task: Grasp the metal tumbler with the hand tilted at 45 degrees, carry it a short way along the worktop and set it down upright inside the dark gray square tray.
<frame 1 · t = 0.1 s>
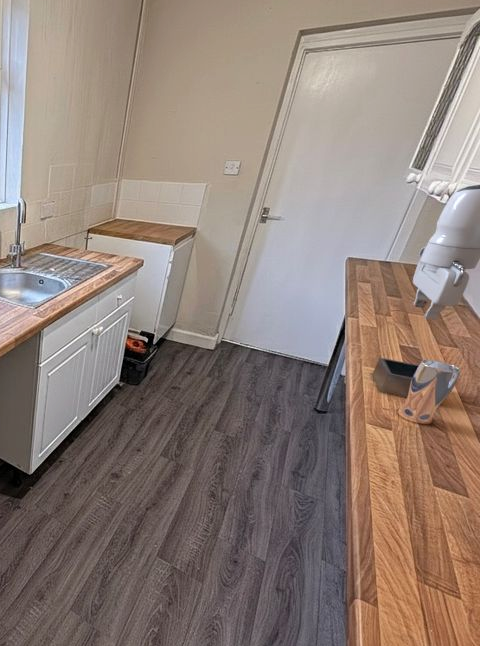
hand: (423, 312, 101), 26 cm above the worktop, tool pointing down, fingers open, 8 cm apart
dark gray square tray: (403, 388, 117), on the worktop
metal tumbler: (413, 417, 105), on the worktop
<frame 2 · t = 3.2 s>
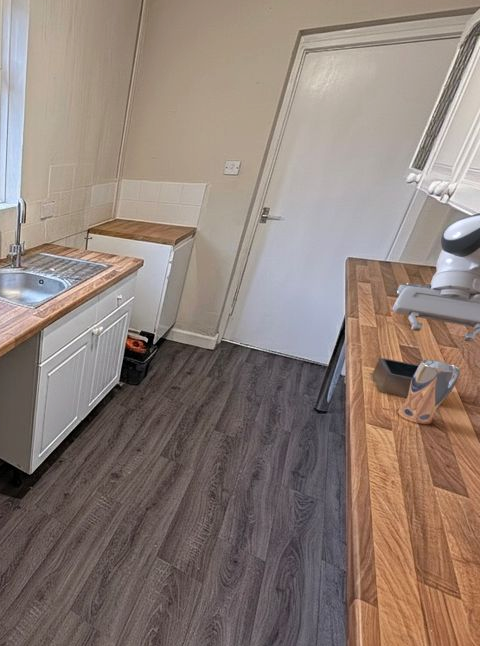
hand: (441, 334, 106), 19 cm above the worktop, tool tilted 45°, fingers open, 8 cm apart
nothing on the worktop moved.
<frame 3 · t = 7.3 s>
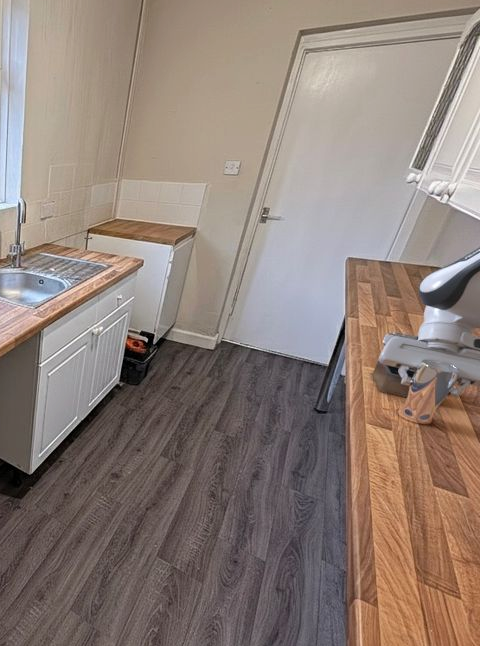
hand: (429, 390, 101), 8 cm above the worktop, tool tilted 45°, fingers closed on metal tumbler, 7 cm apart
metal tumbler: (413, 417, 105), on the worktop, touching gripper
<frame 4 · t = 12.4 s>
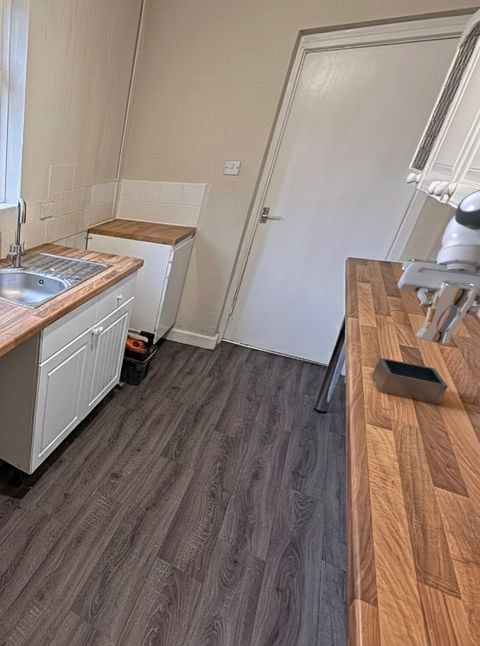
hand: (448, 309, 104), 26 cm above the worktop, tool tilted 45°, fingers closed on metal tumbler, 7 cm apart
metal tumbler: (431, 339, 108), point 17 cm above the worktop, touching gripper
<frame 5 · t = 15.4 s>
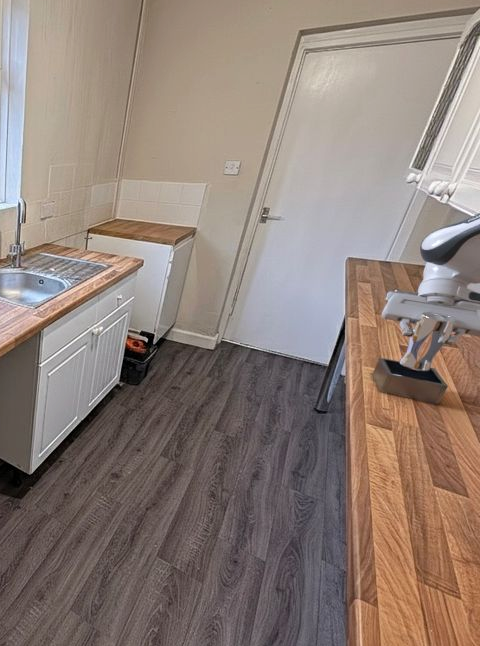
hand: (427, 339, 111), 16 cm above the worktop, tool tilted 45°, fingers closed on metal tumbler, 7 cm apart
metal tumbler: (413, 366, 115), point 7 cm above the worktop, touching gripper
when the fingers open (9 cm above the worktop, at t = 17.9 s): metal tumbler stays where it is, resting on dark gray square tray.
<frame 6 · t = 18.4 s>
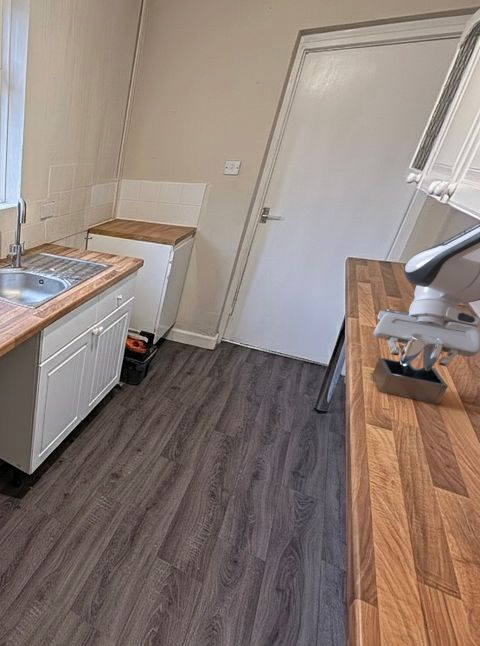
hand: (418, 359, 113), 10 cm above the worktop, tool tilted 45°, fingers open, 8 cm apart
metal tumbler: (403, 386, 117), point 1 cm above the worktop, touching dark gray square tray
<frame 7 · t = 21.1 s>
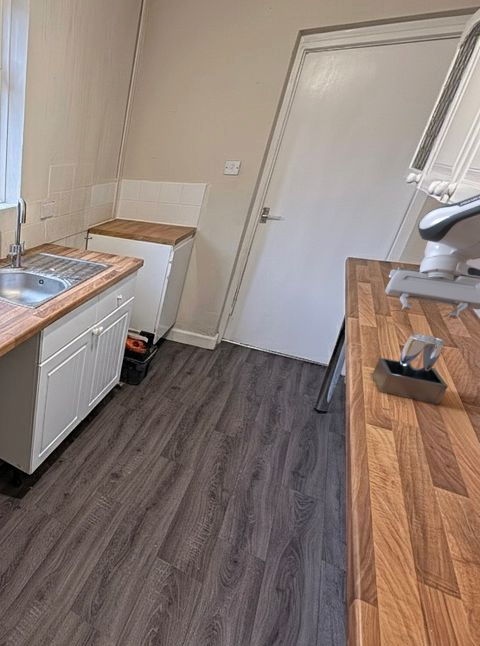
hand: (429, 313, 117), 20 cm above the worktop, tool tilted 45°, fingers open, 8 cm apart
nothing on the worktop moved.
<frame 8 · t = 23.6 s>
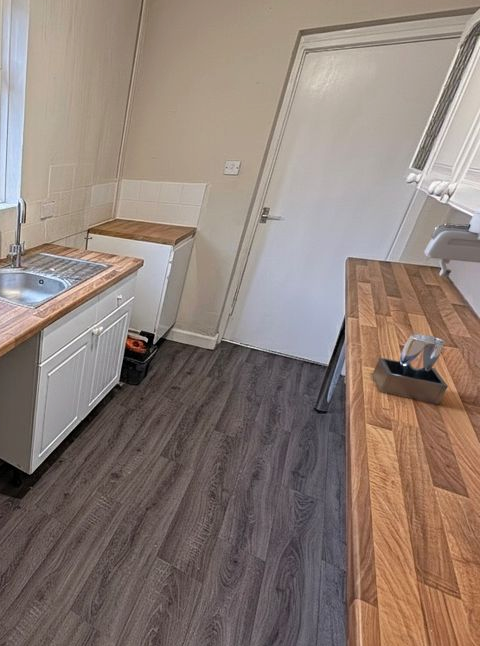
hand: (468, 278, 110), 31 cm above the worktop, tool pointing down, fingers open, 8 cm apart
nothing on the worktop moved.
at the end: metal tumbler inside the target area in the dark gray square tray (0.0 cm from its centre), point 0.6 cm above the dark gray square tray's base; metal tumbler tilted 0°; the gripper is holding nothing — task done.
